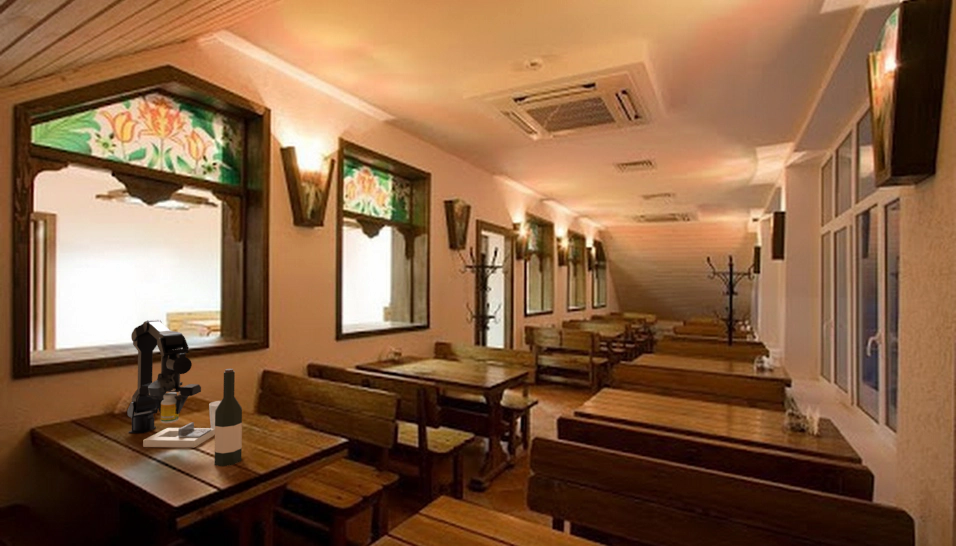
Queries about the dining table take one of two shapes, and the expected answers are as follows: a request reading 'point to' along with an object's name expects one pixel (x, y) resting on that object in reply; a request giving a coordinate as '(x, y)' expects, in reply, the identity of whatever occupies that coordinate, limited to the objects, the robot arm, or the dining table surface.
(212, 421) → the white cup
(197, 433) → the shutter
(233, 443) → the wine bottle
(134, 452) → the dining table surface
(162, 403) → the supplement bottle
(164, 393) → the robot arm
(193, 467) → the dining table surface
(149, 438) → the socket board
